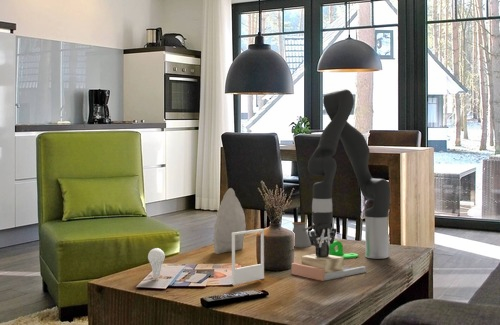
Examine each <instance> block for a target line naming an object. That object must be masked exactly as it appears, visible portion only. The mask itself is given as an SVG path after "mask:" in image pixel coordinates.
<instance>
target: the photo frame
mask: <svg viewBox="0 0 500 325" xmlns="http://www.w3.org/2000/svg"><path fill="white" fill-rule="evenodd" d="M264 230H265V229H264V228H258V229H250V230H246V231H242V232H234V233H232V251H231V285H233V286H235V285H240V284H243V283H244V284H245V283H249V282H254V281H258V280H263V279H265V235H264V234H265V231H264ZM259 232H260V263H259V264H252V265H247V266H242V267H237V268H236V250H235V235H238V234H251V233H252V234H253V233H259Z"/></svg>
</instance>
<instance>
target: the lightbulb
mask: <svg viewBox="0 0 500 325" xmlns="http://www.w3.org/2000/svg"><path fill="white" fill-rule="evenodd" d="M165 258H166V254H165V252H164V250H162V249H161V248H159V247H155V248H152V249H151V250H149V252H148V255H147V259H148V262H149V264H150V267H151V270H152V277H153V278H155V277H156V278H155V279H158V278H160V277H161V271H162V265H163V263H164V261H165ZM157 277H158V278H157Z"/></svg>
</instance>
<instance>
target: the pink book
mask: <svg viewBox="0 0 500 325" xmlns="http://www.w3.org/2000/svg"><path fill="white" fill-rule="evenodd" d="M364 273H367V266H363V265H361V266H357V267H348V266H344V270H341V271H336V272H331V273H326V274H325V269H321V268H316V267H311V266H307V265H302V263H297V262H291V275H294V276H295V275H296V276H299V277H304V278H309V279H311V280H312V279H313V280H317V281H322V282H324V281H330V280H334V279H339V278H342V277H343V278H344V277H348V276H353V275H357V274H364Z"/></svg>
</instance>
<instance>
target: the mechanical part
mask: <svg viewBox="0 0 500 325" xmlns="http://www.w3.org/2000/svg"><path fill="white" fill-rule="evenodd" d="M336 246H337V249H336V250H335V248H336ZM343 250H344V246H343V244H342V242H341V241H338V240H334V242H333V244H330V246H329V255H334V256H339V257H344V260H347V258H349V259H356V257H357V258H359V254H358V253H354V252H350V253H344V251H343Z"/></svg>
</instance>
